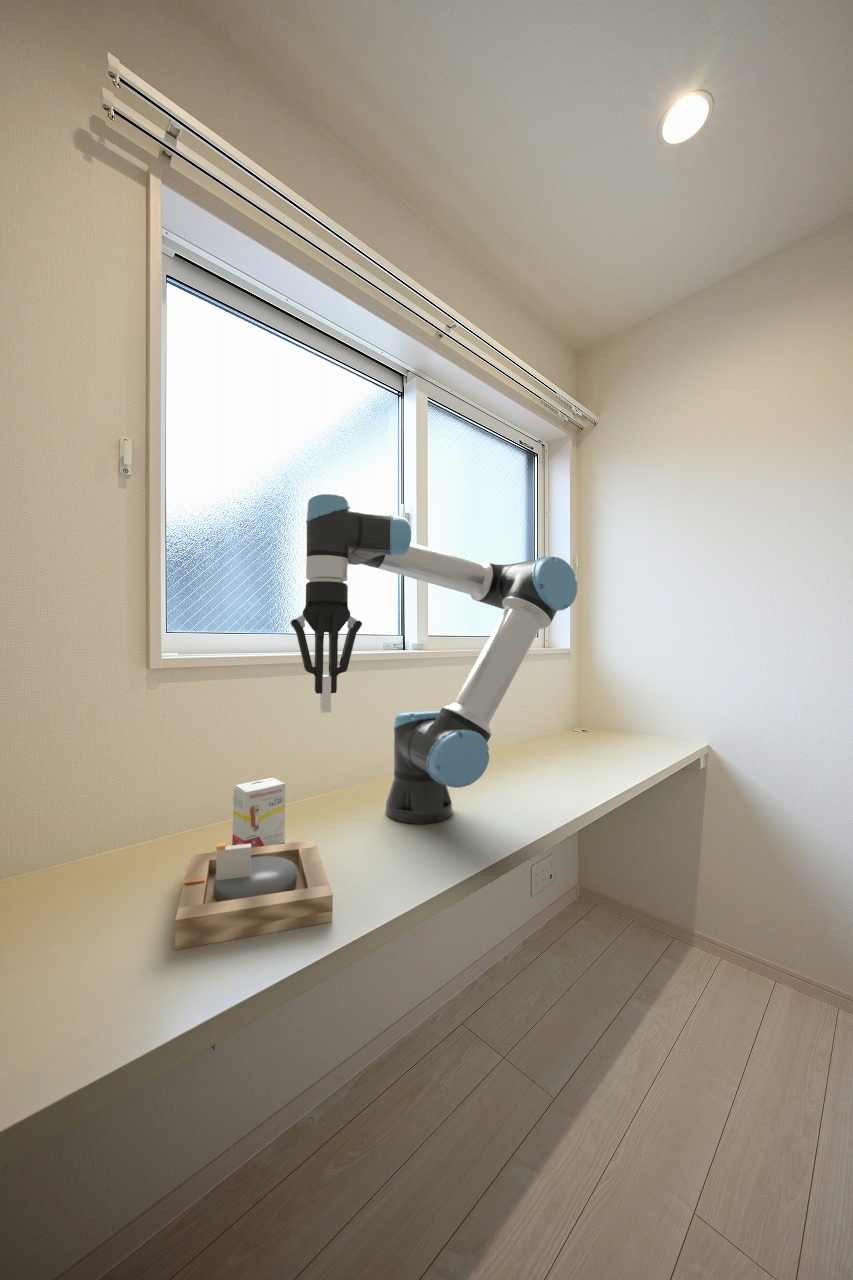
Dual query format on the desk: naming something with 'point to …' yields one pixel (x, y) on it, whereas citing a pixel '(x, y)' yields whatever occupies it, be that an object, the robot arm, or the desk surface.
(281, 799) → the ink box
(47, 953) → the desk surface
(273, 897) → the wooden tray
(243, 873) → the dial
